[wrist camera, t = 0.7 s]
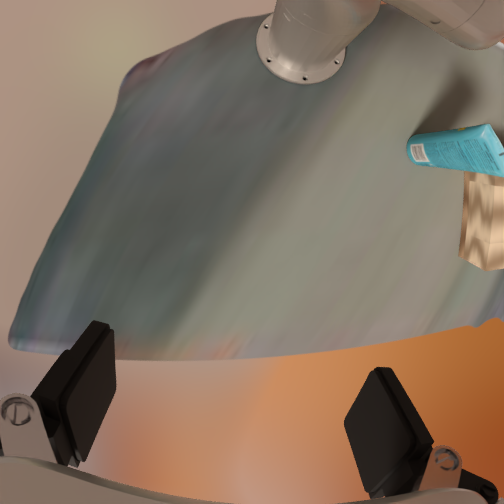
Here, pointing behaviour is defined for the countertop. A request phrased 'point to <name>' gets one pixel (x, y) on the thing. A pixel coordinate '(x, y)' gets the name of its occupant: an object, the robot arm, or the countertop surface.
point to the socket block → (483, 221)
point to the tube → (459, 150)
